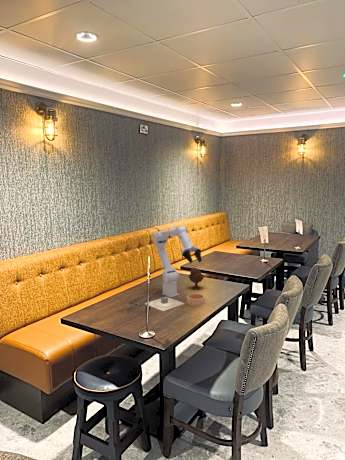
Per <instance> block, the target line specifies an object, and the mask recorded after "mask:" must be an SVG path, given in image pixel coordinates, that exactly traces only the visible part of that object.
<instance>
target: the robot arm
mask: <svg viewBox="0 0 345 460" xmlns="http://www.w3.org/2000/svg"><path fill="white" fill-rule="evenodd" d="M170 236H171V237H177V238H178V239H179V240H180V243H181V244H182V247H183V248H181V249H180V250H179V251H180V254H181V256H182V257H184V258H185V260H187V261H188V262H189V264H192V263H193V258H192V255H191V253H193V256H194V257H195V259H196V260H197V261H198V262H199V263H201V262H202V254H201V253H202V250H201V248H200V247H196V246H195V245H194V244H193V242H192V240H191V238H190V236H189V235H188V228H187V226H184V225H183V226H172V227H170V228H169V229H165V230H160V231H156V232H154V233H152V238H151V239H152V241H153V244H154V247H155V248H156V250H157V253H158V256H159V258H160V260H161V261H160V262H161V264H162V266H163V271H162V274H161V275H162V279H163V282H162V293H161V295H164V296H165V297H168V298H173V297H176V296H179V295H180V293H178V292H177V291H178V289H177V288H178V285H177V283H178V281H179V279H180V274H179V272H178V271H177V269H176V268H175V267H173V266H172V263H171V261H170V259H169V256H168V253H167V250H166V247H165V246H166V245H167V243H168V241H169V237H170Z"/></svg>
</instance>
